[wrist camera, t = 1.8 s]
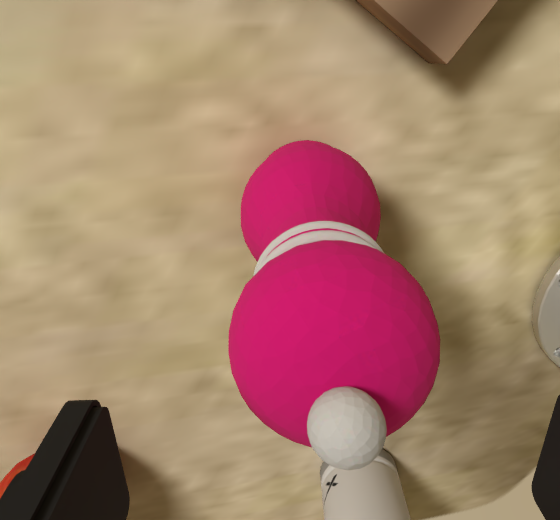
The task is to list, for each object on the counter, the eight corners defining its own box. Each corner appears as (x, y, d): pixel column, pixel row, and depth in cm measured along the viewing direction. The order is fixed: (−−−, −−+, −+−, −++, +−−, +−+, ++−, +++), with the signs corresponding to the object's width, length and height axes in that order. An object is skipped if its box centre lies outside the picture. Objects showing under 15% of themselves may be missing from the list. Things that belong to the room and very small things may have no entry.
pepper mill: (291, 105, 25) (317, 232, 7) (389, 177, 27) (607, 426, 9) (224, 205, 28) (116, 488, 10) (317, 266, 30) (374, 602, 11)
